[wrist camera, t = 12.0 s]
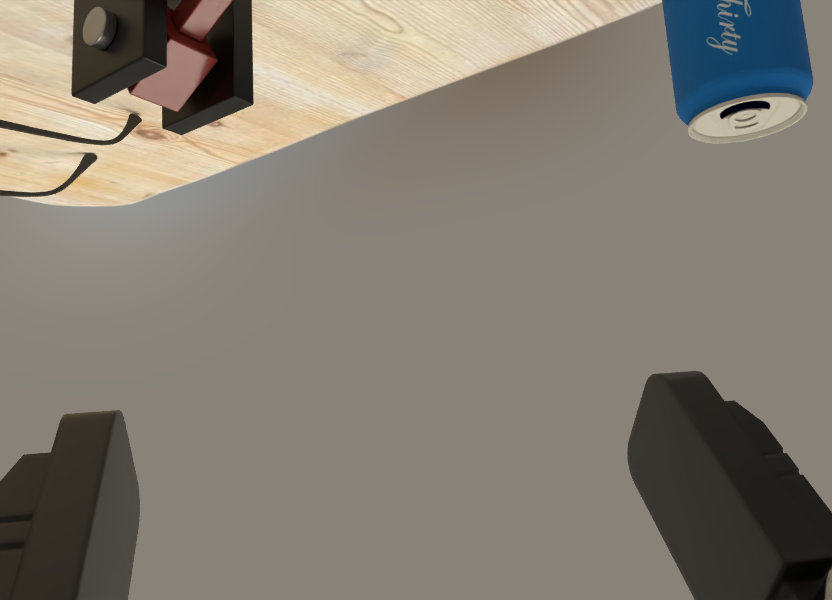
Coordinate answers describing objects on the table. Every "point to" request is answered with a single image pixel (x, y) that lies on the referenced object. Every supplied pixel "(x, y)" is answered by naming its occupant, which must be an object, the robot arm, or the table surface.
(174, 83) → the lever
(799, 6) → the beverage can
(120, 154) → the table surface
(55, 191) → the sunglasses
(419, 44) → the table surface
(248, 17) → the bracket
